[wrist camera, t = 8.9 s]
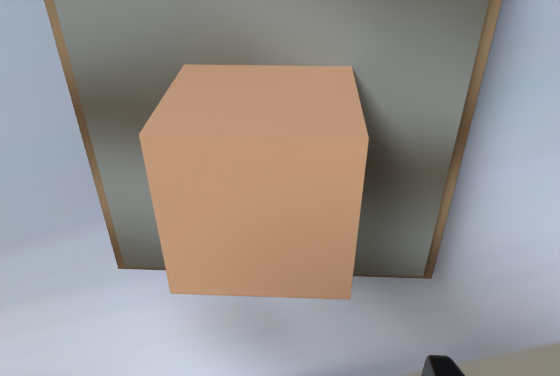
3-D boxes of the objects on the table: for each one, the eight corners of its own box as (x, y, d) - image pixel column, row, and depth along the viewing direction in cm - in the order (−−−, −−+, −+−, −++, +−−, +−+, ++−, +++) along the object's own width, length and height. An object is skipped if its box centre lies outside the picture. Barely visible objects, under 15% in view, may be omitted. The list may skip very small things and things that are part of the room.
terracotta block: (340, 203, 16) (350, 299, 13) (201, 199, 17) (170, 293, 13) (351, 66, 14) (368, 138, 10) (184, 64, 14) (138, 134, 10)
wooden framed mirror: (418, 237, 21) (433, 285, 18) (137, 229, 21) (115, 275, 19) (491, -100, 14) (532, -94, 11) (61, -99, 14) (10, -93, 12)
